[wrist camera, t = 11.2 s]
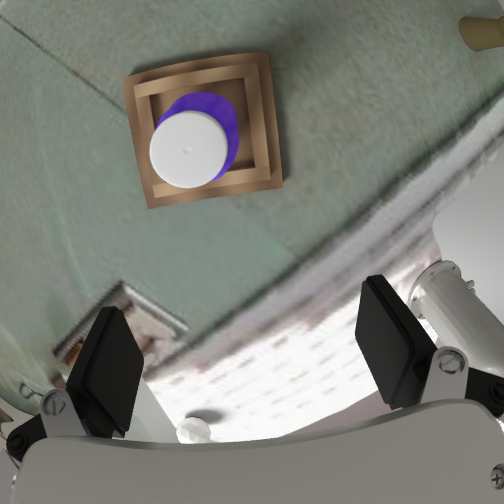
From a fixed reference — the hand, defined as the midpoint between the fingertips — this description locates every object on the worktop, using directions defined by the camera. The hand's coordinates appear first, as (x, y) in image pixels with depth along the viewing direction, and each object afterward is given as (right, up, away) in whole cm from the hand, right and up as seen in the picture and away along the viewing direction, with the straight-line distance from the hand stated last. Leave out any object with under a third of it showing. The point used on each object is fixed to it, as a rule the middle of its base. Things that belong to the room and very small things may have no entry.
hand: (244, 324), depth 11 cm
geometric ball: (-13, -36, +47) cm, 61 cm away
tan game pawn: (+35, +37, +13) cm, 52 cm away
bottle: (-5, +16, +18) cm, 25 cm away
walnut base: (-5, +17, +20) cm, 26 cm away
